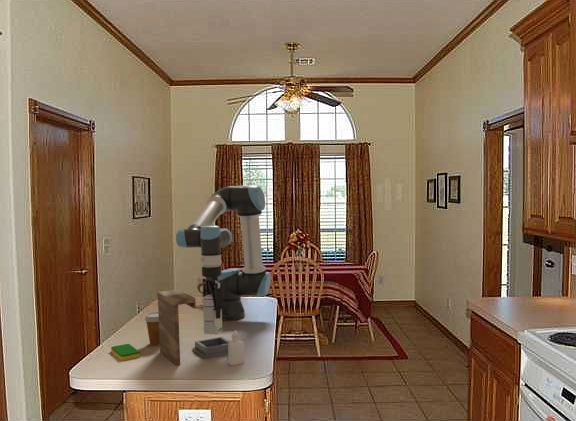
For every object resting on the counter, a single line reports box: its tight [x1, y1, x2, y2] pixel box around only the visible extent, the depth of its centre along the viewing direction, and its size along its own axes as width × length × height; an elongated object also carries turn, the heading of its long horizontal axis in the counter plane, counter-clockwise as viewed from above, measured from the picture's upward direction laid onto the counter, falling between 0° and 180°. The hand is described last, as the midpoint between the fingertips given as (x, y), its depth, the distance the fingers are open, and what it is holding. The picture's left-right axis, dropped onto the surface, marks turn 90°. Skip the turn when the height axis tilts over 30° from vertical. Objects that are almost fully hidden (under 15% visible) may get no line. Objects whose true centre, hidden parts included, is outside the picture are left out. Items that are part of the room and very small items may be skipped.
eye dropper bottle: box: [227, 330, 245, 366], centre depth 192 cm, size 4×6×12 cm
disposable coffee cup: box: [144, 311, 160, 346], centre depth 219 cm, size 10×10×12 cm
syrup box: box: [202, 294, 224, 335], centre depth 206 cm, size 6×6×14 cm
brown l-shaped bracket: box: [156, 289, 197, 366], centre depth 201 cm, size 8×20×24 cm, turn 31°
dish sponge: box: [110, 343, 141, 361], centre depth 206 cm, size 7×14×2 cm, turn 34°
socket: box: [191, 336, 231, 359], centre depth 207 cm, size 13×13×4 cm
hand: (213, 324), depth 206 cm, fingers closed on syrup box, 8 cm apart
